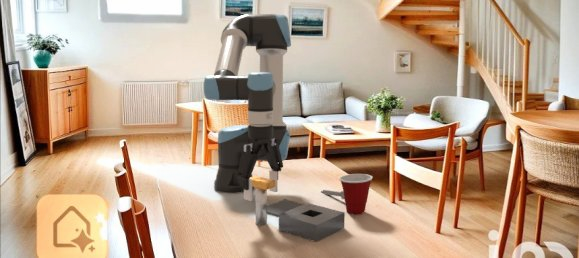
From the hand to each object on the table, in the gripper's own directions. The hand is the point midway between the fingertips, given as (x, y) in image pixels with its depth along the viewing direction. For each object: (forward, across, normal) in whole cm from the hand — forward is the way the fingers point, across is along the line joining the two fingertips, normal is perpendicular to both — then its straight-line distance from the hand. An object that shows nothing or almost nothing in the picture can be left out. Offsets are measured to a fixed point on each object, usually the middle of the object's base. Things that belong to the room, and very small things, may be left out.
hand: (261, 195), depth 168 cm
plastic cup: (+9, +28, -16) cm, 34 cm away
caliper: (+9, +35, -4) cm, 37 cm away
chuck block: (+9, +6, -15) cm, 18 cm away
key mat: (+9, +15, +1) cm, 17 cm away
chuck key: (+9, 0, 0) cm, 9 cm away
